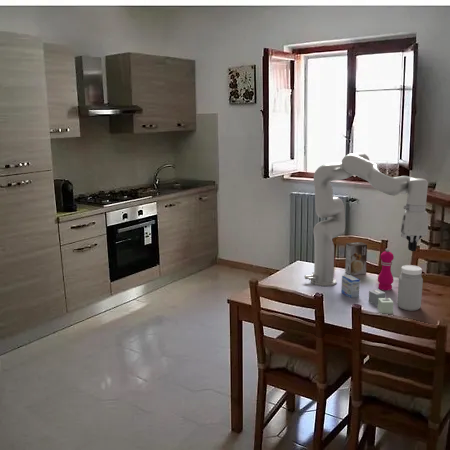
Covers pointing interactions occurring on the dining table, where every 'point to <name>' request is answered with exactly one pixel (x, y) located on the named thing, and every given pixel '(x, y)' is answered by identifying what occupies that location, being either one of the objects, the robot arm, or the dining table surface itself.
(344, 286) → the medicine box
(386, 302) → the sage block
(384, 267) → the pepper mill
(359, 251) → the coffee box
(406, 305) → the jar
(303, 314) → the dining table surface
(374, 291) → the slate block
